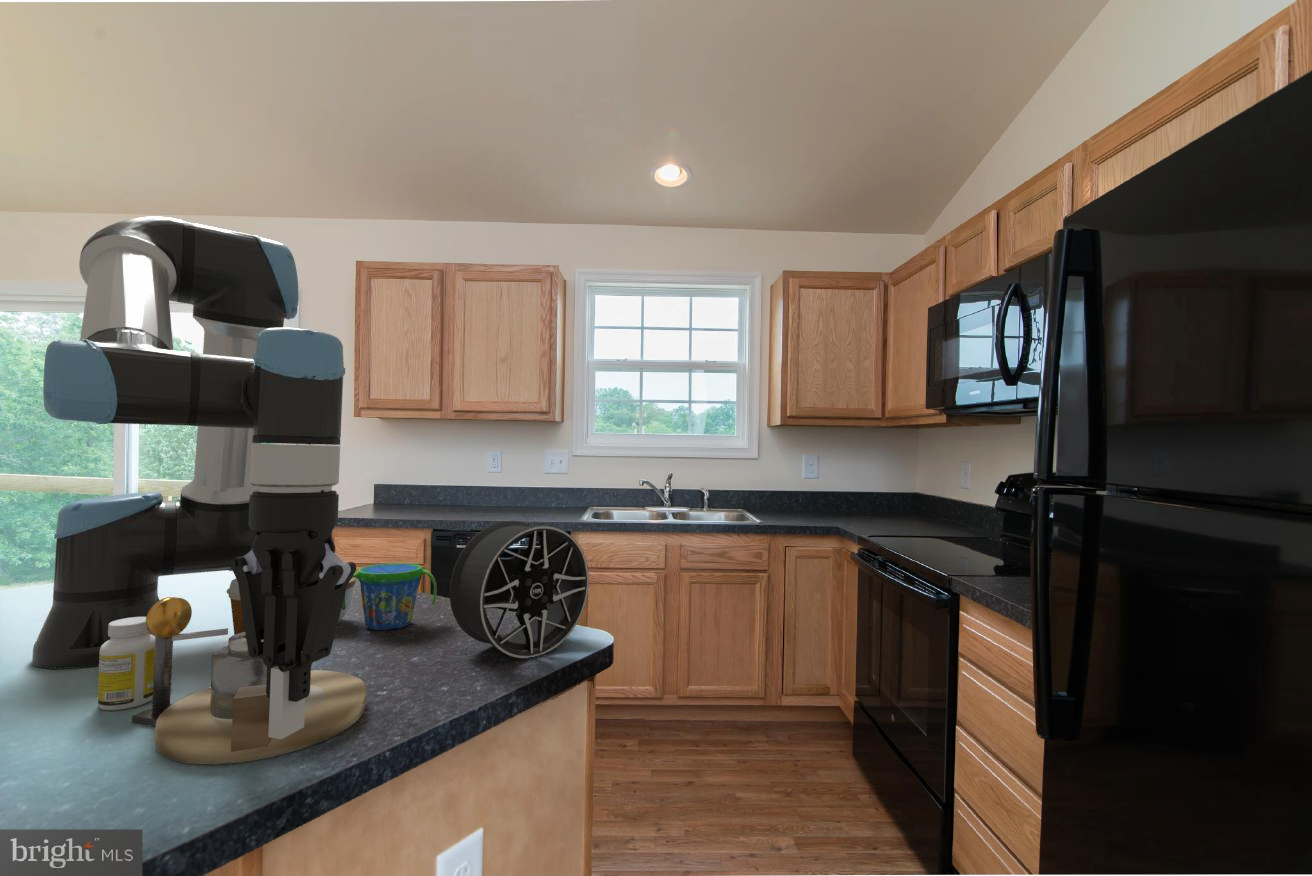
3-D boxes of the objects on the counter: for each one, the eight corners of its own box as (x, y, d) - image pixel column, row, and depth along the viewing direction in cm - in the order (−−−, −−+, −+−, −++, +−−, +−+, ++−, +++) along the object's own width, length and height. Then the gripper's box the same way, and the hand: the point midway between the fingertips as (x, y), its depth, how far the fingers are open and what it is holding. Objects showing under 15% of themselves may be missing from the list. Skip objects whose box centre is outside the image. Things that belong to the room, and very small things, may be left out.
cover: (219, 695, 71) (222, 628, 71) (298, 686, 74) (301, 622, 74) (201, 724, 63) (204, 649, 64) (290, 712, 67) (293, 641, 67)
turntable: (185, 698, 74) (187, 641, 74) (366, 677, 83) (368, 625, 83) (115, 792, 54) (119, 712, 55) (364, 751, 63) (366, 682, 63)
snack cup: (438, 615, 114) (439, 561, 115) (433, 631, 104) (434, 571, 105) (347, 620, 111) (349, 564, 111) (332, 637, 100) (334, 575, 101)
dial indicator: (127, 724, 68) (133, 600, 68) (188, 700, 74) (193, 587, 75) (169, 731, 66) (175, 605, 67) (227, 706, 73) (232, 591, 73)
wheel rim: (477, 672, 86) (482, 530, 87) (446, 656, 93) (450, 524, 93) (587, 643, 101) (590, 521, 101) (553, 631, 107) (557, 516, 107)
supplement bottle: (145, 690, 77) (148, 612, 77) (164, 700, 74) (168, 619, 75) (89, 705, 73) (93, 622, 73) (107, 716, 70) (111, 629, 70)
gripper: (379, 489, 62) (370, 724, 61) (274, 484, 65) (266, 708, 64) (320, 493, 54) (310, 761, 54) (206, 488, 58) (196, 740, 57)
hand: (286, 731), depth 59 cm, fingers closed
